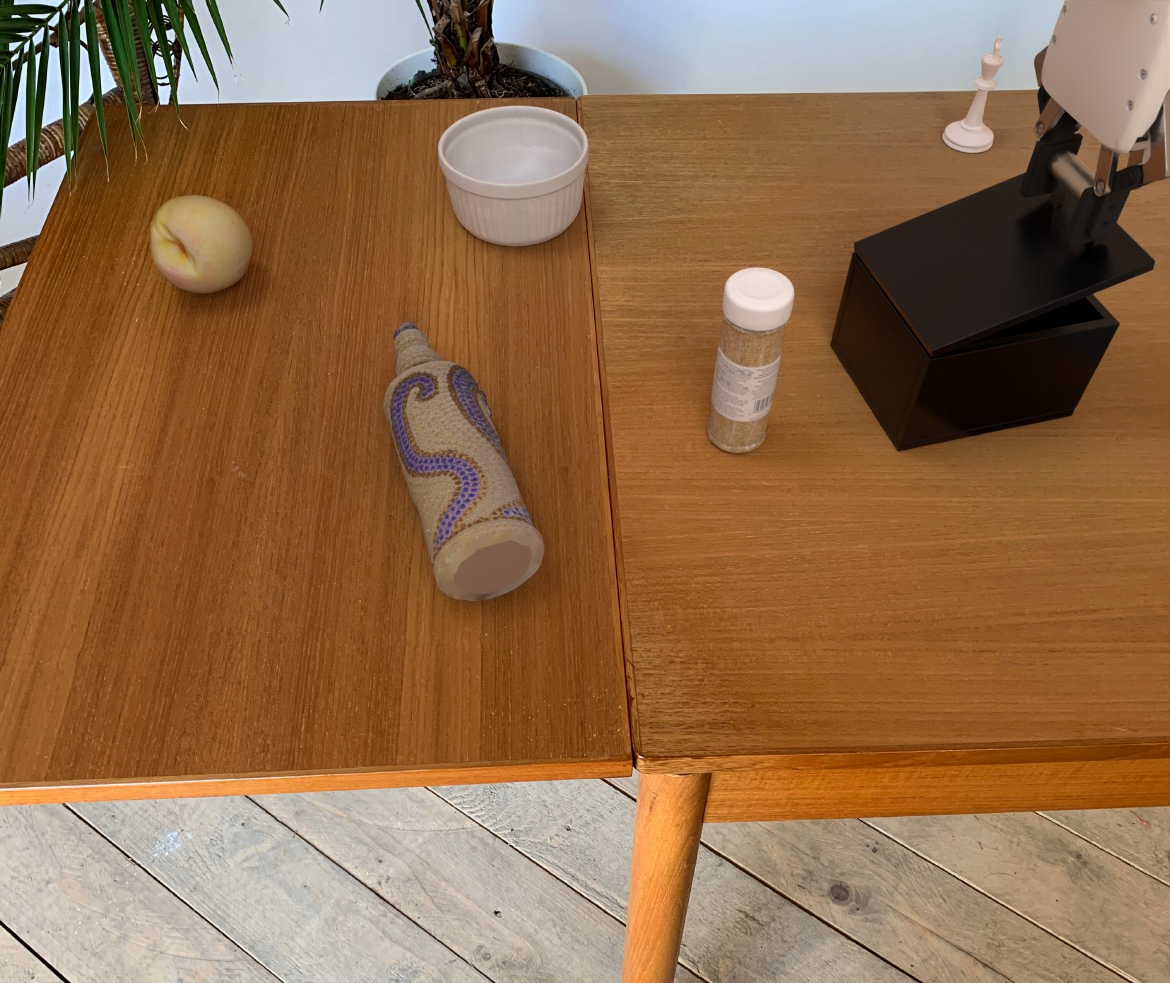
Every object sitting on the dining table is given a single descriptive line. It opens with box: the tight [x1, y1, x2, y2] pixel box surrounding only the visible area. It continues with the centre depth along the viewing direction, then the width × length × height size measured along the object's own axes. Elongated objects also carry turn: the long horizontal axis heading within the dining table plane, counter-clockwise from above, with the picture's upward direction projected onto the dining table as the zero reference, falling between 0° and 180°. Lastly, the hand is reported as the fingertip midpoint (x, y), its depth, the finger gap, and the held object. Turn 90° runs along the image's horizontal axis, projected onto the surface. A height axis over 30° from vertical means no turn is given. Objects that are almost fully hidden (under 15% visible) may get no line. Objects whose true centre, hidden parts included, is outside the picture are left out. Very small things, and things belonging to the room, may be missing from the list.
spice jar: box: [706, 266, 795, 454], centre depth 71 cm, size 5×5×13 cm
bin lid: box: [853, 148, 1156, 358], centre depth 69 cm, size 16×13×5 cm
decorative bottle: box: [382, 321, 545, 602], centre depth 72 cm, size 26×8×7 cm, turn 18°
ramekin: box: [437, 105, 590, 247], centre depth 91 cm, size 13×13×7 cm
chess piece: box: [941, 35, 1005, 154], centre depth 97 cm, size 5×5×10 cm
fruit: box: [149, 194, 254, 294], centre depth 84 cm, size 8×8×8 cm
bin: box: [829, 251, 1121, 452], centre depth 76 cm, size 15×13×9 cm
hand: (1063, 213), depth 70 cm, fingers closed on bin lid, 5 cm apart
